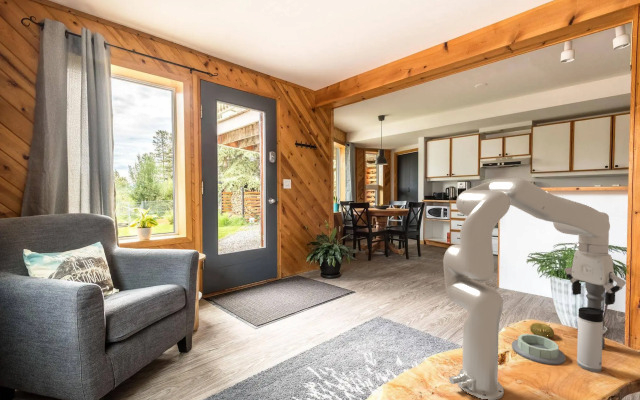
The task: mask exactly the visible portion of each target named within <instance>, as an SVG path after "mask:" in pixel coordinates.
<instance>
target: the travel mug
mask: <svg viewBox="0 0 640 400" xmlns="http://www.w3.org/2000/svg"><path fill="white" fill-rule="evenodd" d="M604 312H605V310H604V309H602V308H601V309H598V308H597V309H596V308H591V307H588V306H584V307H583V306H582V307H579V308H578V314H577V318H578V319H577V344H576V346H577V349H576V351H577V352H576V364H577V366H578V367H580V368H581V369H584V370H586V371H589V372H592V373H593V372H594V373H600V372H601V371H602V367H603V366H602V364H603V363H602V362H603V349H602V336H603V334H604V333H603V332H604V331H603V330H604V329H603V328H604V327H603V317H604ZM603 337H604V336H603Z"/></svg>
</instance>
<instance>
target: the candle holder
mask: <svg viewBox="0 0 640 400" xmlns="http://www.w3.org/2000/svg"><path fill="white" fill-rule="evenodd" d="M584 283H585V285H584V288H585V291H587V294H586V295H585V297H586V298H587V307H591V308H596V309H597V308H598V309H601V310H602V303H603V301H605V297H603V294H605V292H606V289H605V288H604V287H603V286H600V285H595V284H591V283H587V282H584ZM605 321H606V320H605V318H604V316H603V328H604V327H605V326H606V325H605V324H606V322H605ZM604 337H605V335H604V333H603V336H602V350H604V349H605V343H606V342H605V340H606V339H605V338H604ZM603 348H604V349H603Z"/></svg>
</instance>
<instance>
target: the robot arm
mask: <svg viewBox="0 0 640 400" xmlns="http://www.w3.org/2000/svg"><path fill="white" fill-rule="evenodd" d="M455 204H456V209H457V211H458V212H459V213H460V214H462V215H463V216H466V217H465V219H464V221H463V222H462V225H461V227H460V233H459V238H460V239H459V241H460V242H459V244H452V245H450V246H449V247H448V248H447V249H446V251H445V253H444V255H443V261H442V262H443V263H442V264H443V265H442V266H443V273H444V283H445V292H446V295H447V297H448V300H450V301H451V302H452V303H453V304H454V305H457V306H459V307H460V308H462V309H464V310H466V311H467V312H468V315H467V317H466V319H465V320H464V322H463V326H462V369H459V373H458V374H457V375H453V376H449V377H448V379H449V383H450V384H451V385H455V384H457V385H458V388H460V387H461V388H462V389H463V390H465V391H466V392H468V393H470V394H472V395H474V396H476V397H478V398H477V399H479V398H481V399H480V400H483V399H488V400H499V399H501V398H502V397H503V396H504V393H505V392H504V387H503V385H502V384H501V382H500V381H499V380H498V379H499V378H498V377H499V375H498V374H499V332H500V322H501V321H500V320H501V315H502V313H503V307H504V300H503V298H502V295H501V294H500V293H499V291H497V290H496V289H495V288H494V287H492V286H490V285H487V284H485V283H484V282H487V281H489V280H491V279H492V278H493V276H494V272H495V262H494V261H495V260H494V250H493V249H494V248H493V232H494V229H495V227H496V226H497V224H498V223H499V222H500V221H501V220H502V218H503V217H505V216H506V214H507V213H508V211H509V210H510V206H512V207H515V208H516V209H518V210H520V211H523V212H524V213H526V214H528V215H530V216H532V217H534V218H536V219H539V220H543V221H546V222H551V223H553V227H554V229H555V230H556V231H558V232H559V233H562V234H567V235H572V236H573V235H574V236H578V241H577V242H575V244H574V246H575V247H577V250H575V252H574V255H573V260H572V266H570V267H565V268H564V272H565V274H566V276H567V278H568V280H569V281H570V283H571V284H572V285H571V290H572V295H574V296H576V295H581V294H582V282H583V283H585V282H587V283H591V284H595V285H600V286H603V287H604V288H605V291H604V304H605V305H607V306H610V305H614V304H615V302H616V293H618V292H619V291H621V290H622V289H623V287H624V286H625V285H626V281H625V280H624V279H622V278H621V277H620V276H618V275H617V274H615V273H614V271H615V270H614V263H613V259H612V255H611V254H610V253H609V243H610V242H609V240H610V239H609V238H610V230H611V229H610V228H611V224H610V216H609V214H608V213H606V212H603V211H599V210H597V209H595V208H593V207H592V206H589V205H587V204H585V203H582V202H581V203H580V202H577V201H574V200H571V199H567V198H564V197H560V196H558V195H555V194H553V193H550V192H548V191H547V190H544V189H543V188H541V187H539V186H538V185H536V184H534V183H532V182H530V181H529V180H526V179H524V178H519V177H511V178H496V179H492V180H490V181H487V182H483V183H481V184H478V185H477V186H476V185H475V186H472V187H471V188H468V189H466V190H464V191H462V192H460V194H459V195H458V196H457V198H456V203H455ZM482 282H483V283H482ZM614 282H616V285H614ZM461 388H460V389H461ZM462 389H461V390H462ZM463 390H462V391H463ZM465 391H464V392H465ZM466 392H465V393H466ZM468 393H467V394H468ZM474 396H473V397H474ZM476 397H475V398H476Z"/></svg>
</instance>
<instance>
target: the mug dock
mask: <svg viewBox="0 0 640 400" xmlns="http://www.w3.org/2000/svg"><path fill="white" fill-rule="evenodd" d="M511 349H512V350H513V351H514V352H515V353H516V354H517V355H519V356H520V357H522V358H523V359H526V360H529V361H532V362H536V363H538V364H543V365H549V366H558V365H562V364H565V362H566V355H565V353H564V352H563V351H562V350H560V346H559V344H558V343H556V341H554V340H551V339H550V338H545V337H542V336H538V335H535V334H533V333H532V334H530V333H522V334H519V335H518V337H517V339H516V340H513V341H512V343H511Z"/></svg>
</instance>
